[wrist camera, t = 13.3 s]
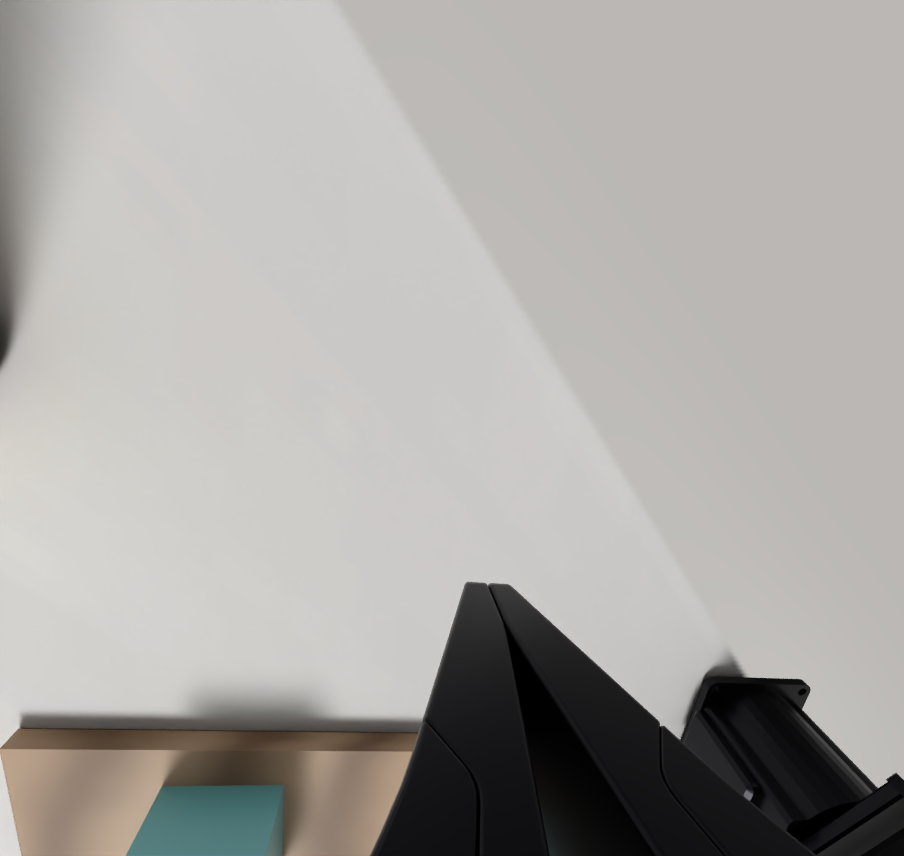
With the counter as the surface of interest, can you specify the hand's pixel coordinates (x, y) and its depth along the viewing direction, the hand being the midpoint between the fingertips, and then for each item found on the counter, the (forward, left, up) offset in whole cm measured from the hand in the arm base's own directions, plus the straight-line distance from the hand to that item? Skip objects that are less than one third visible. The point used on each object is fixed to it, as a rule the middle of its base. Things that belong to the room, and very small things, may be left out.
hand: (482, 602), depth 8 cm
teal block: (+9, +23, -10) cm, 26 cm away
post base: (+9, +23, -11) cm, 27 cm away
